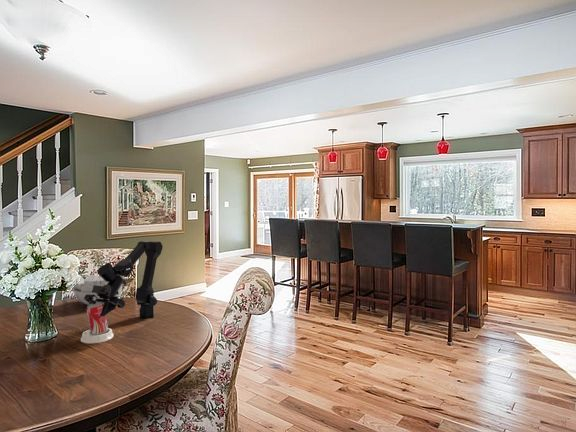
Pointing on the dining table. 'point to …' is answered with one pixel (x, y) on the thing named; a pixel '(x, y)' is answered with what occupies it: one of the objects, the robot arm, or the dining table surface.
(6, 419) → the dining table surface
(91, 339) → the white ring
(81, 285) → the decorative bowl
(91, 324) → the soda can
